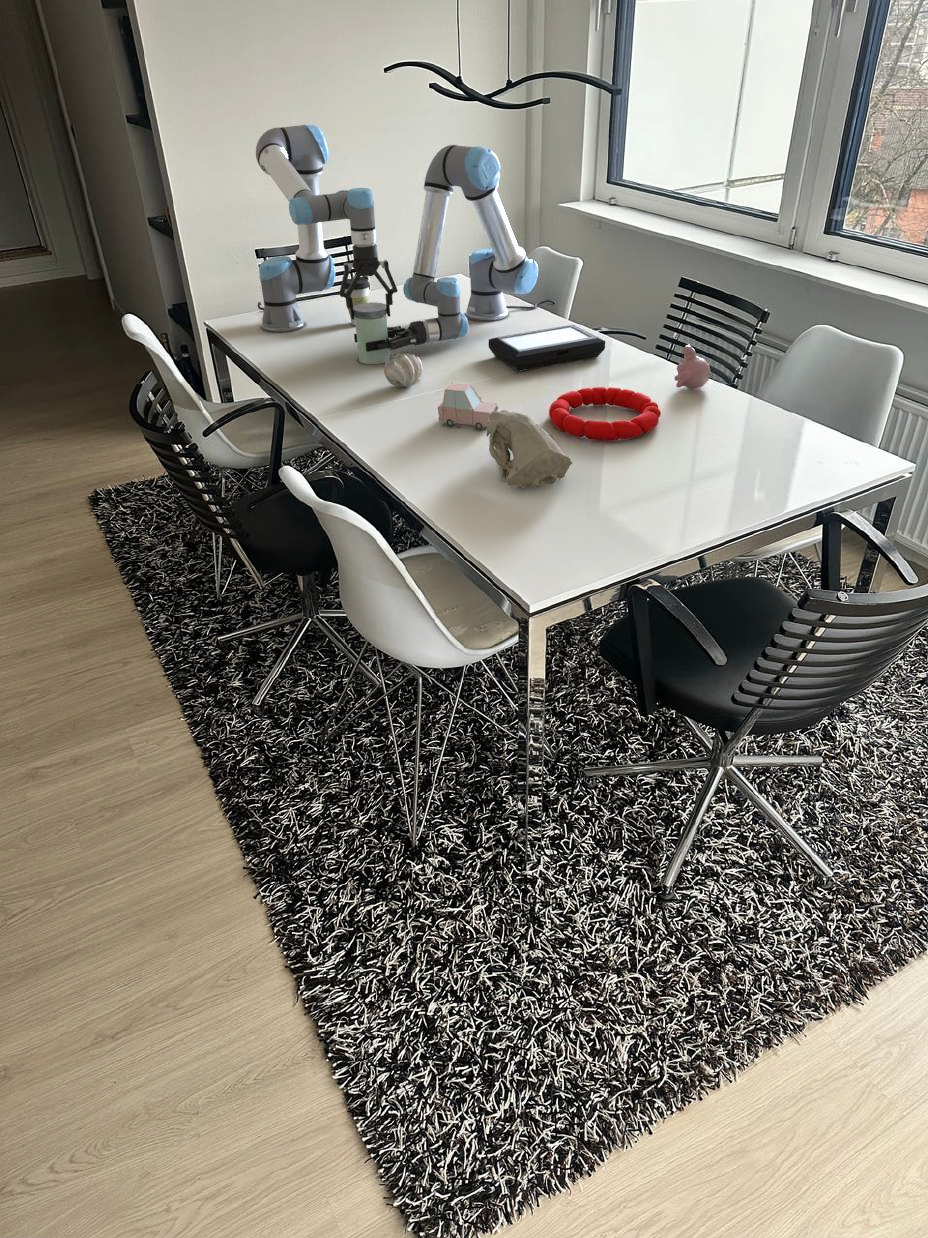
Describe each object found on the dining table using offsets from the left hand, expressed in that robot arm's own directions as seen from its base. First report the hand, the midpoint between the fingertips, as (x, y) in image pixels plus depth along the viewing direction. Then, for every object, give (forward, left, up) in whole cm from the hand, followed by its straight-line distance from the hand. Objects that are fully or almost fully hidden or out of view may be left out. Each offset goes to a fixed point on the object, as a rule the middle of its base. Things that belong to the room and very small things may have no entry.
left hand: (370, 316), depth 286 cm
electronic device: (+13, +55, -14) cm, 58 cm away
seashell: (+28, +7, -14) cm, 32 cm away
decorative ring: (+70, +57, -14) cm, 91 cm away
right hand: (+1, -4, -8) cm, 9 cm away
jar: (0, 0, -14) cm, 14 cm away
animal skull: (+94, +27, -14) cm, 99 cm away
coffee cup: (-42, -1, -14) cm, 44 cm away
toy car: (+62, +20, -14) cm, 66 cm away
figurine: (+52, +89, -14) cm, 104 cm away
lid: (0, 0, +3) cm, 3 cm away
